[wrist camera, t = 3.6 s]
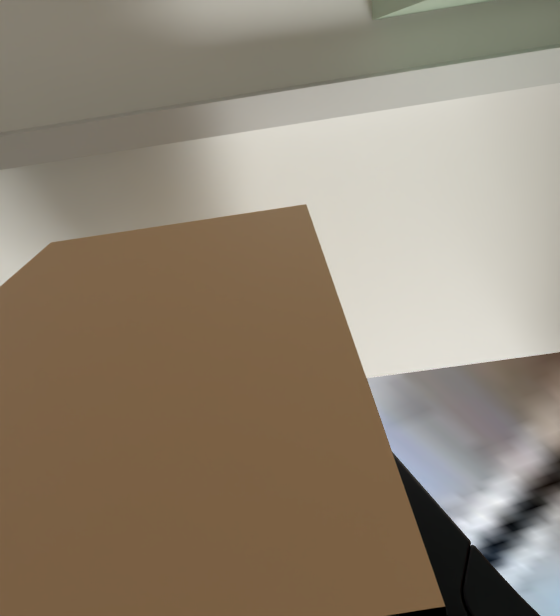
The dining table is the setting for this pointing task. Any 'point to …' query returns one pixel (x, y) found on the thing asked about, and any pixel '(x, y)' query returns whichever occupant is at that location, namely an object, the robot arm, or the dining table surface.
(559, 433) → the dining table surface
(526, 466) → the dining table surface
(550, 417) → the dining table surface
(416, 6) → the sage tea box
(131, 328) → the ochre tea box
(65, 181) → the shelf
